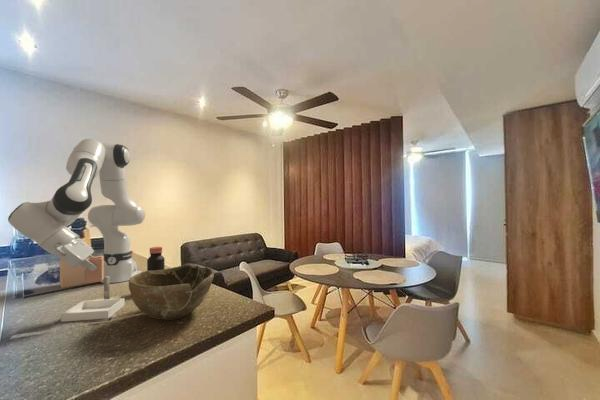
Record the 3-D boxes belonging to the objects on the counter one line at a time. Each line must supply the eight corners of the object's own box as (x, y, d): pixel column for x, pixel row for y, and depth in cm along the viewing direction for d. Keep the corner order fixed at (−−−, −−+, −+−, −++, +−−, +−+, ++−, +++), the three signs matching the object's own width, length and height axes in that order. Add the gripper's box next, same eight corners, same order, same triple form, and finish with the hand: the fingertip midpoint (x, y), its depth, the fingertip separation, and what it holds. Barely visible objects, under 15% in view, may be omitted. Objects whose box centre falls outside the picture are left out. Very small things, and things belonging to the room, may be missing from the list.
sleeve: (88, 279, 96) (88, 257, 96) (103, 278, 99) (103, 256, 99) (85, 283, 92) (85, 259, 92) (101, 281, 94) (101, 258, 95)
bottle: (167, 290, 122) (167, 246, 123) (158, 295, 116) (158, 249, 116) (153, 289, 123) (153, 246, 123) (143, 295, 116) (143, 248, 117)
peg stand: (94, 301, 109) (94, 275, 109) (121, 297, 113) (121, 272, 113) (90, 309, 101) (90, 281, 101) (118, 304, 105) (118, 278, 105)
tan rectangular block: (59, 284, 132) (59, 239, 133) (82, 280, 139) (82, 238, 139) (62, 290, 124) (63, 242, 124) (86, 285, 130) (86, 240, 130)
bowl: (230, 310, 99) (230, 269, 99) (161, 343, 76) (161, 290, 76) (183, 297, 113) (183, 261, 113) (112, 322, 90) (112, 277, 90)
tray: (83, 310, 100) (83, 300, 100) (124, 307, 103) (124, 298, 103) (60, 324, 88) (60, 314, 88) (108, 321, 91) (108, 310, 91)
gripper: (61, 238, 83) (99, 266, 88) (77, 232, 101) (108, 255, 106) (41, 254, 81) (82, 282, 86) (61, 245, 99) (94, 268, 103)
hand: (97, 267), depth 96 cm, fingers closed on sleeve, 5 cm apart
